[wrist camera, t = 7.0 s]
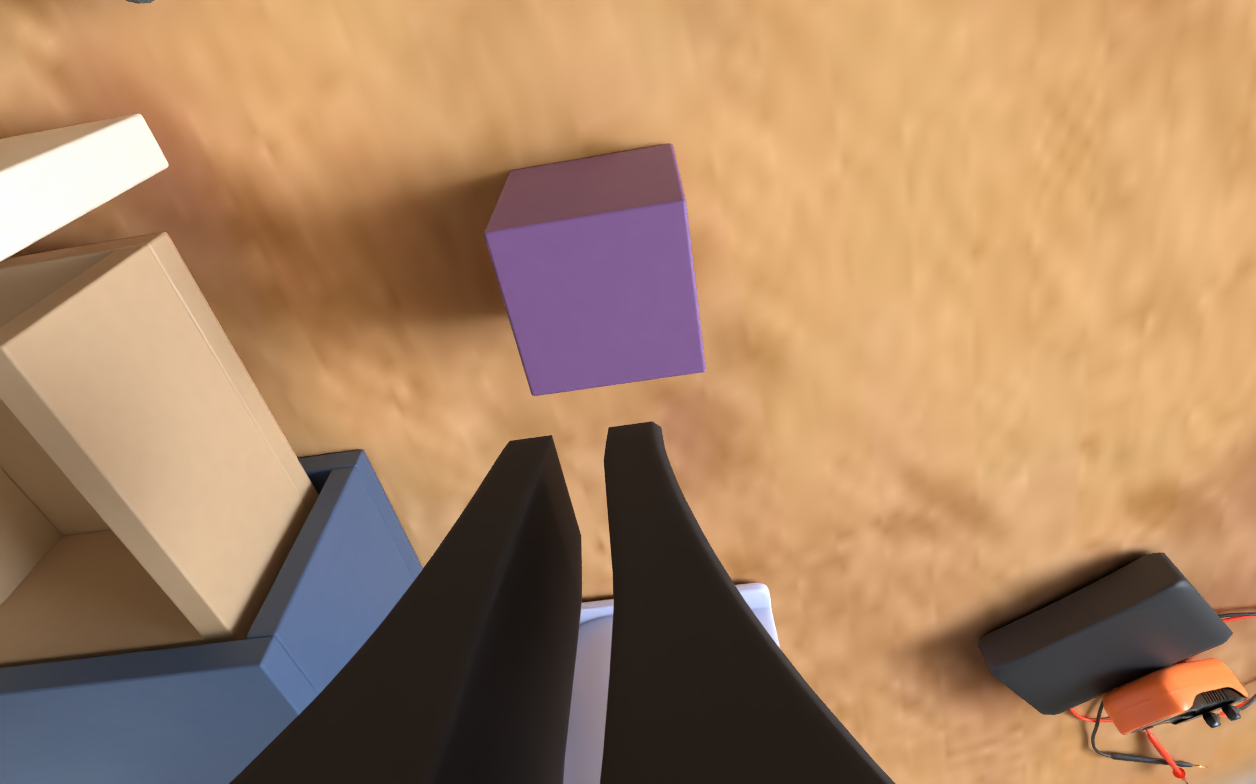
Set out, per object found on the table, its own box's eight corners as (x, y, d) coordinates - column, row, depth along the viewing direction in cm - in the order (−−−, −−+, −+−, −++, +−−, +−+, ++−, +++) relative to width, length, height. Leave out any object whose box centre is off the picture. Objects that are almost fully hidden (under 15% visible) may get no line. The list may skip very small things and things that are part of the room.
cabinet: (41, 492, 22) (-180, 714, 16) (364, 448, 22) (260, 665, 15) (229, 703, 30) (126, 914, 23) (478, 677, 29) (439, 888, 22)
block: (672, 142, 16) (686, 199, 13) (690, 292, 19) (706, 372, 15) (509, 170, 17) (482, 232, 13) (546, 313, 19) (531, 398, 16)
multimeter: (1397, 701, 31) (1475, 781, 28) (1123, 790, 35) (1166, 867, 32) (1302, 477, 23) (1398, 556, 20) (964, 629, 27) (1004, 711, 24)
